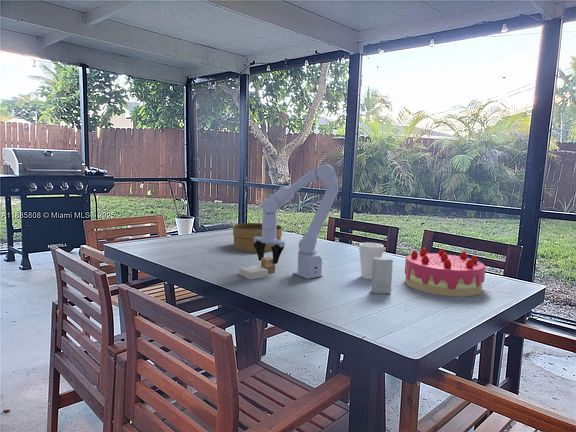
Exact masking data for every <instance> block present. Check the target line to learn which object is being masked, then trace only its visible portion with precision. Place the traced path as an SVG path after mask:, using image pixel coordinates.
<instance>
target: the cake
mask: <svg viewBox="0 0 576 432" xmlns="http://www.w3.org/2000/svg"><path fill="white" fill-rule="evenodd" d="M404 263H405V264H404V274H405V280H404V281H405V284H406V285H408V286H409V287H411V288H413V289H415V290H418V291H421V292H425V293H428V294H434V295H439V296H447V297H471V296H477V295H479V294H481V293H482V292H483V291H482V290H483V289H482V288H483V283H485V279H486V278H485V277H486V265H485V264H484V263H483V262H481V261H480V260H479V259H478V257H477V256H476V255H472V257H471V258H468V254H467V252H466V251H465V250H463V251H462V252H461V253H460V254H459V255H453V254H447V252H446V251H445V249H444V248H443V247H441V248H440V249H439V251H438V253H434V252H433V253H431V252H428V251H427V249H426V248H425V247H422V248H421V250H420V251H419V253H418V252H417V250H413V251H412V252H411V254H409V255H407V256H405V262H404Z"/></svg>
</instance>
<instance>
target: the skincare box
mask: <svg viewBox="0 0 576 432" xmlns="http://www.w3.org/2000/svg"><path fill="white" fill-rule="evenodd" d="M393 264H394V263H393V259H392V258H390V257H382V258H378V257H373V260H372V279H371V285H370V290H371V292H372V293H373V294H375V295H377V294H378V295H379V294H381V295H382V294H391V292H392V282H393V281H392V278H393Z"/></svg>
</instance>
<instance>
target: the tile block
mask: <svg viewBox="0 0 576 432" xmlns="http://www.w3.org/2000/svg"><path fill="white" fill-rule="evenodd" d="M238 270H239V271H238V272H239V274H238V275H239V276H242V277H244V278H246V279H249V280H255V279H261V278H268V277H269V273H268V270H267V269H265V268H262V267H261V265H260V266H259V265H251V266H245V267H239V268H238Z"/></svg>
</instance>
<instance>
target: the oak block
mask: <svg viewBox="0 0 576 432" xmlns="http://www.w3.org/2000/svg"><path fill="white" fill-rule="evenodd" d="M260 267H262V268H265V269H267V270H268V274H273V273H275V272H276V264H273V257H271V256H268V257H265V256H264V258H261V261H260Z"/></svg>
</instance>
